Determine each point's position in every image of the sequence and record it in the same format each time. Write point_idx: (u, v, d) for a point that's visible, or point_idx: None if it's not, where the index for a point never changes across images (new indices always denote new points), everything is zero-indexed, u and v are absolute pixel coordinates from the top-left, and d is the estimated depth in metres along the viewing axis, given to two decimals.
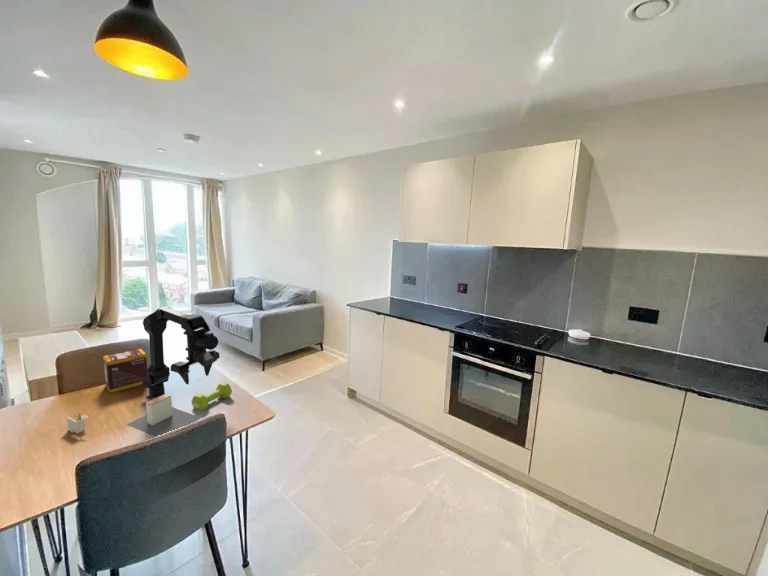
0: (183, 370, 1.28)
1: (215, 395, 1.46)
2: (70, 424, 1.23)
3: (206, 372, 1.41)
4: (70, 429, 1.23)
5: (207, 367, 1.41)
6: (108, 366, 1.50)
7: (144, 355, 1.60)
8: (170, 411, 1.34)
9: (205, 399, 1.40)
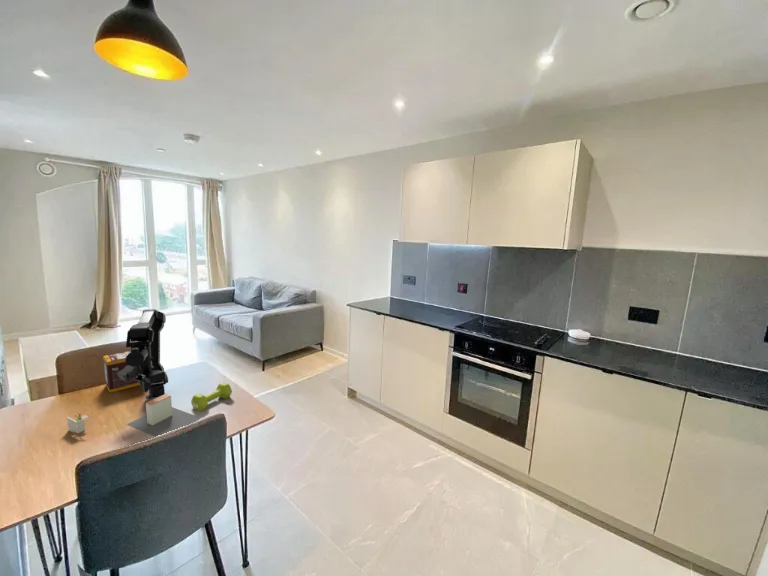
0: None
1: (215, 395, 1.46)
2: (70, 424, 1.23)
3: None
4: (71, 429, 1.23)
5: None
6: (108, 366, 1.50)
7: None
8: (170, 411, 1.34)
9: (204, 399, 1.40)
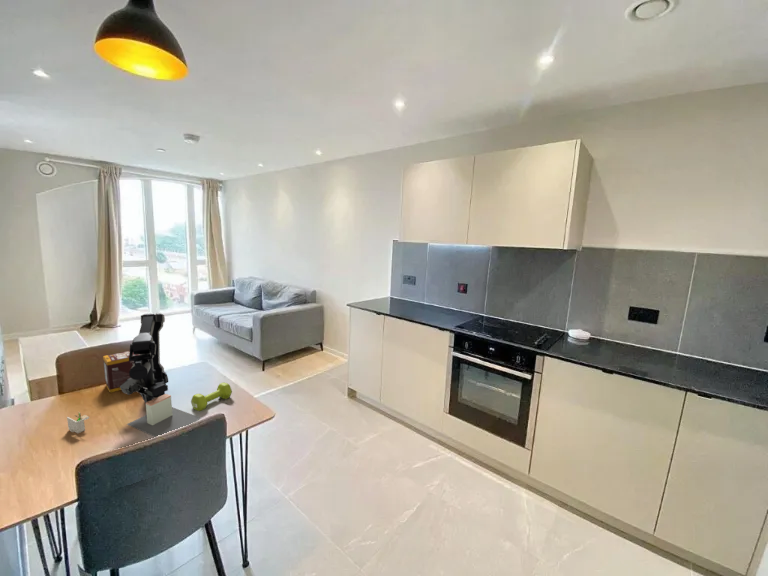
0: None
1: (215, 395, 1.46)
2: (70, 424, 1.23)
3: None
4: (71, 429, 1.23)
5: None
6: (108, 366, 1.50)
7: None
8: (170, 411, 1.34)
9: (204, 399, 1.40)
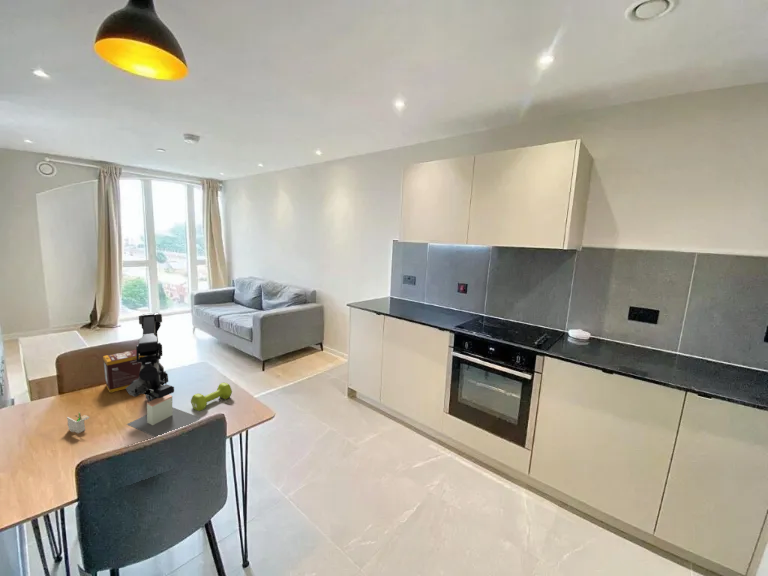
0: None
1: (215, 395, 1.46)
2: (70, 424, 1.23)
3: None
4: (71, 429, 1.23)
5: None
6: (108, 366, 1.50)
7: None
8: (170, 411, 1.34)
9: (203, 399, 1.40)
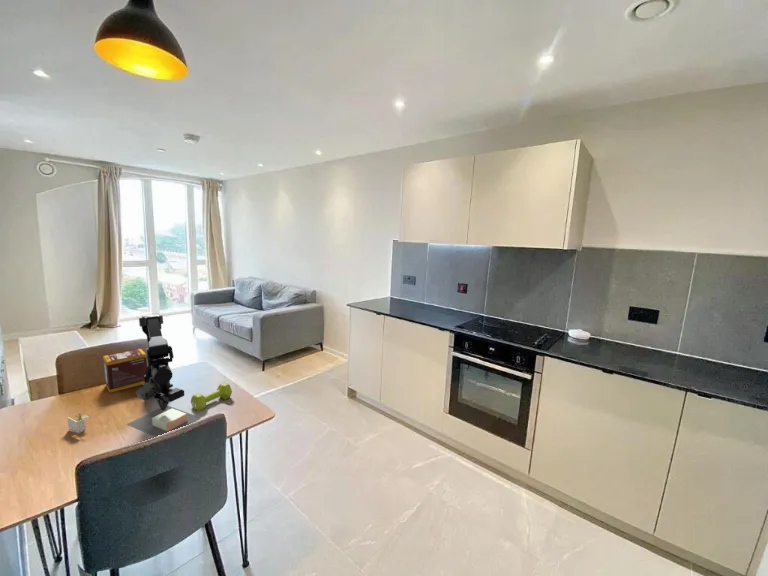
0: None
1: (214, 395, 1.46)
2: (70, 424, 1.23)
3: None
4: (71, 429, 1.23)
5: None
6: (108, 366, 1.50)
7: (144, 355, 1.60)
8: None
9: (203, 399, 1.40)
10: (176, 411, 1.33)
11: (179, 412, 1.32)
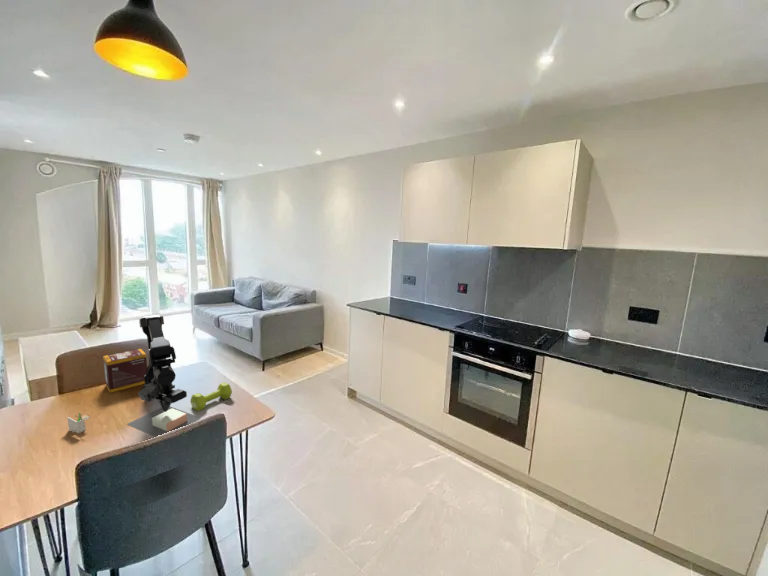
0: None
1: (214, 395, 1.46)
2: (71, 424, 1.23)
3: None
4: (71, 429, 1.23)
5: None
6: (108, 366, 1.50)
7: (144, 355, 1.60)
8: None
9: (202, 399, 1.40)
10: (176, 411, 1.33)
11: (179, 412, 1.32)
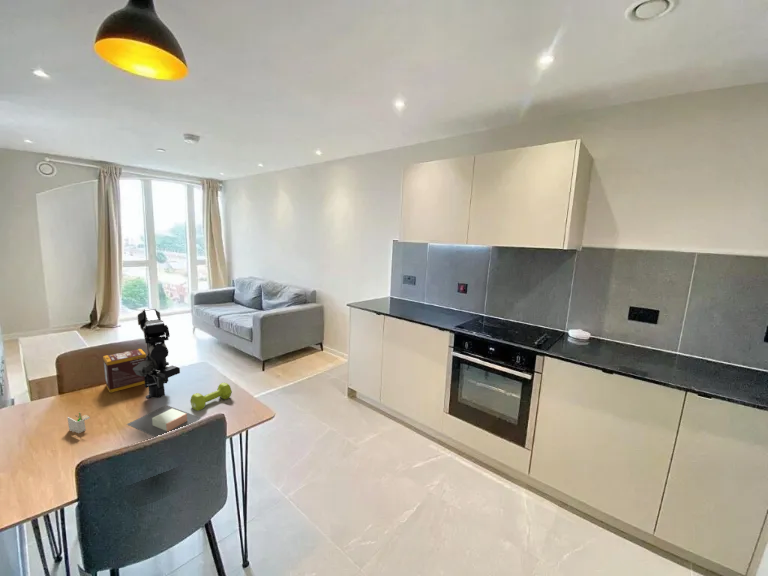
0: None
1: (214, 395, 1.46)
2: (71, 424, 1.23)
3: None
4: (71, 429, 1.23)
5: None
6: (108, 366, 1.50)
7: (144, 355, 1.60)
8: None
9: (202, 399, 1.40)
10: (176, 411, 1.33)
11: (179, 412, 1.32)
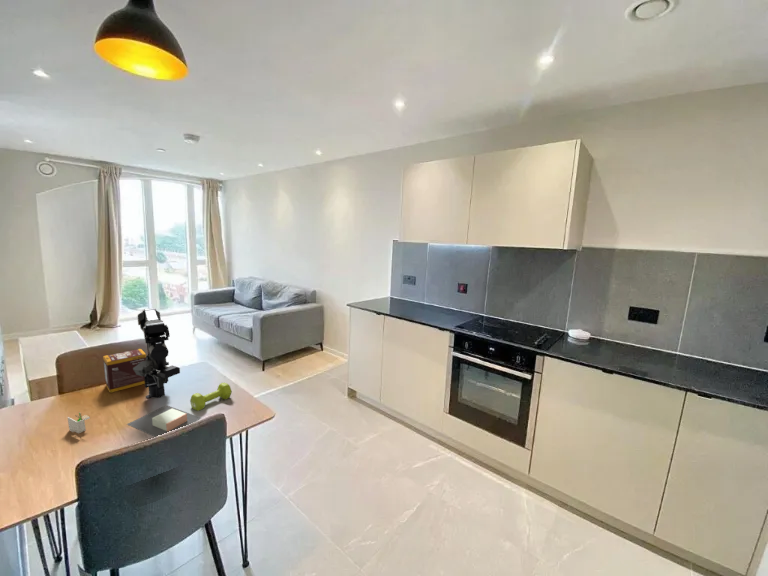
0: None
1: (214, 395, 1.46)
2: (71, 424, 1.22)
3: None
4: (71, 429, 1.23)
5: None
6: (108, 366, 1.50)
7: (144, 355, 1.60)
8: None
9: (202, 399, 1.40)
10: (176, 411, 1.33)
11: (179, 412, 1.32)
